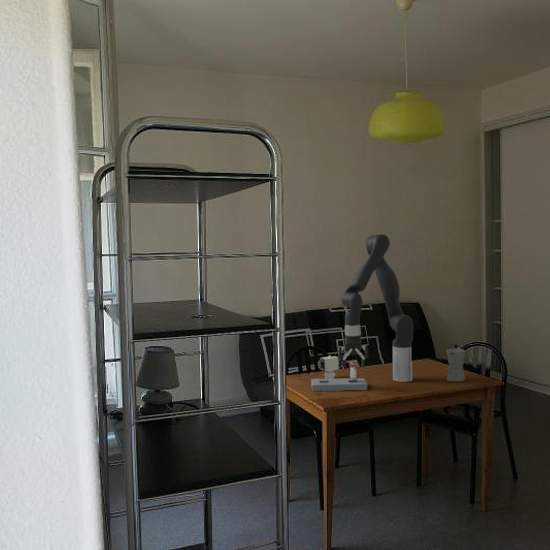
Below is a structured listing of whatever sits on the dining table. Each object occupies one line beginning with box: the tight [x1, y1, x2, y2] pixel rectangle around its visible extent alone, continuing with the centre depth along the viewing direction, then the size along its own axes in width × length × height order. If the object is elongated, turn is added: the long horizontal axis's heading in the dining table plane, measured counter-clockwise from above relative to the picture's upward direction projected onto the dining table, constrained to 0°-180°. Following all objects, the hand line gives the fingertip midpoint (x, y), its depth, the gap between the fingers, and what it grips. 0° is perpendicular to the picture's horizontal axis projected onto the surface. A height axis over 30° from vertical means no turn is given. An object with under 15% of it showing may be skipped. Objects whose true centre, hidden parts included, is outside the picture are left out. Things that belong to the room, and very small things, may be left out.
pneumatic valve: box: [317, 355, 343, 379], centre depth 320 cm, size 6×12×12 cm, turn 108°
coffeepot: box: [446, 344, 466, 382], centre depth 312 cm, size 15×9×18 cm, turn 147°
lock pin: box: [348, 360, 358, 382], centre depth 301 cm, size 4×4×12 cm
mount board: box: [310, 377, 368, 392], centre depth 302 cm, size 26×12×3 cm, turn 89°
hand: (353, 367), depth 301 cm, fingers open, 8 cm apart
